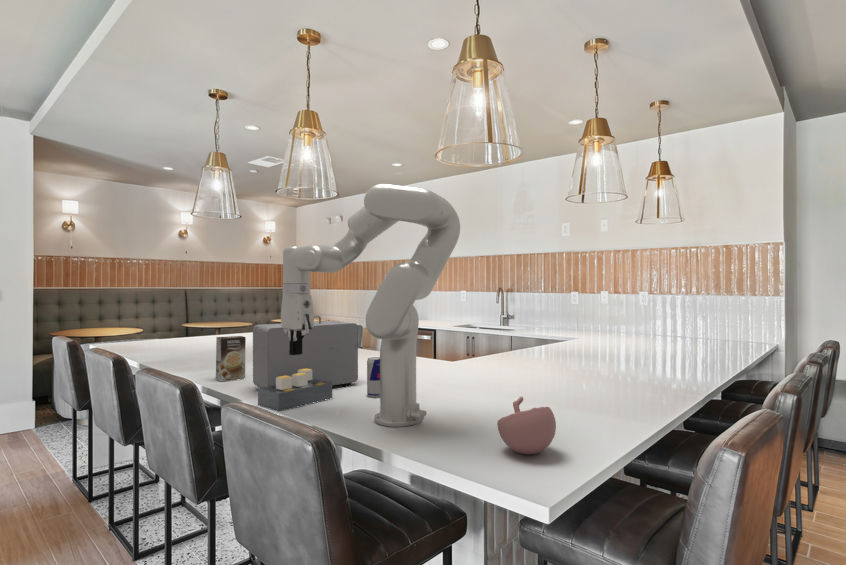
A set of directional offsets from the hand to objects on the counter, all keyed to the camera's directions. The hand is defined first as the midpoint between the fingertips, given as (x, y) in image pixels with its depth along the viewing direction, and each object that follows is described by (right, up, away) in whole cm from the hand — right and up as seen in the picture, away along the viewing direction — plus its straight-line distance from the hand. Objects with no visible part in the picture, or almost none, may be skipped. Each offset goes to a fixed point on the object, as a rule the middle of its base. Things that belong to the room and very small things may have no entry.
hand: (295, 354), depth 133 cm
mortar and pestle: (+58, -16, -34) cm, 69 cm away
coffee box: (-37, -17, +44) cm, 60 cm away
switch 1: (-5, -11, +4) cm, 12 cm away
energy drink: (+21, -16, +16) cm, 31 cm away
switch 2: (-1, -11, +16) cm, 19 cm away
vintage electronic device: (-5, -16, +31) cm, 35 cm away
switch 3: (-1, -11, +8) cm, 13 cm away
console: (-3, -16, +9) cm, 19 cm away
